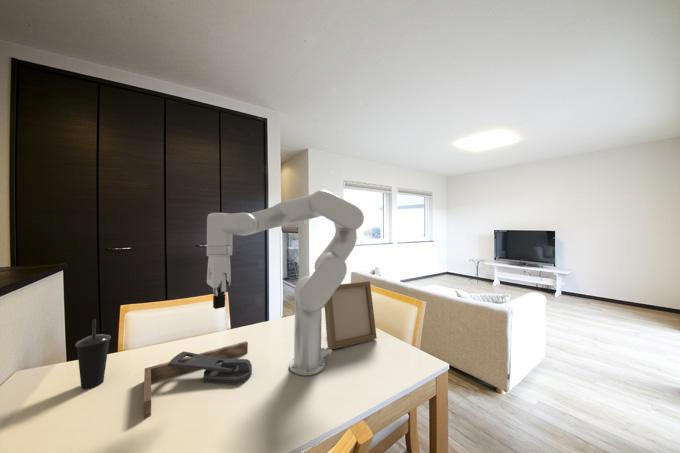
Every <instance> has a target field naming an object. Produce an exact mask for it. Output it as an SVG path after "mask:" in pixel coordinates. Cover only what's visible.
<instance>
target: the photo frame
mask: <svg viewBox="0 0 680 453" xmlns="http://www.w3.org/2000/svg"><path fill="white" fill-rule="evenodd" d="M323 307H324V316H325V317H324V318H325V330H326V341H327V342H326V343H327V349H331V350H336V349H339V348H343V347H347V346H351V345H356V344H361V343H364V342H368V341H372V340H378V339H377V336H378V335H377V328H376V323H375V322H376V321H375V313H374V304H373V294H372V287H371V280H370V281H358V282H349V283H341V284H340V286H339V287H338V288H337V290H336V291H335V292H334V294H333V295H332V296H331V298H330V299H329V300H328V302H327V303H326V304H325V305H324V306H323Z"/></svg>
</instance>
